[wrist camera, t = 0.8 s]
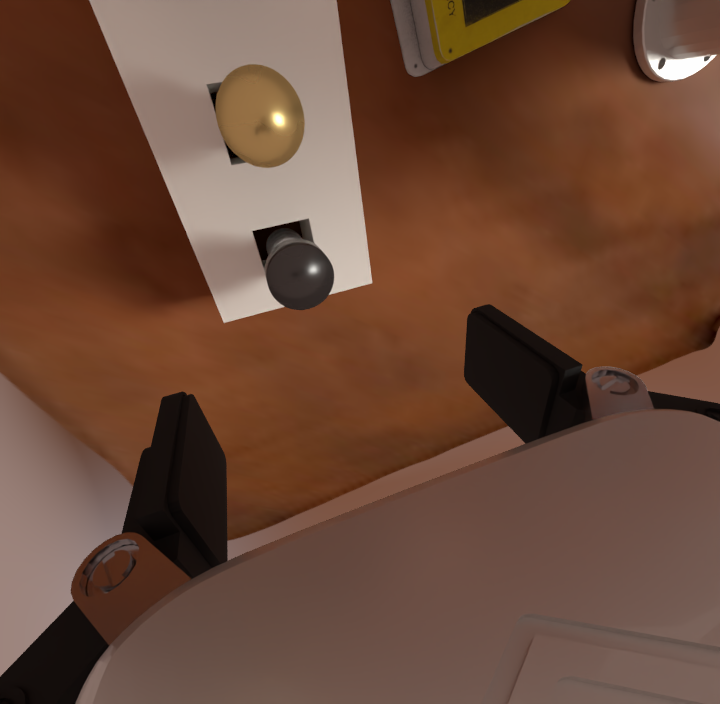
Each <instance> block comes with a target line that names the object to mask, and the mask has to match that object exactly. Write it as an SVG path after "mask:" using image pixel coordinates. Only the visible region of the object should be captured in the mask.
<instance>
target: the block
mask: <svg viewBox="0 0 720 704" xmlns="http://www.w3.org/2000/svg"><path fill="white" fill-rule="evenodd" d="M89 1H90V3H91V6H92V8H93V11H94V13H95V15H96V18H97V20H98V23H99V25H100V27H101V30H102V32H103V35H104V37H105V39H106V42H107V44H108V47H109V49H110V51H111V54H112V56H113V59H114V61H115V63H116V66H117V68H118V70H119V73H120V75H121V78H122V80H123V82H124V85H125V87H126V90H127V92H128V94H129V97H130V99H131V102H132V104H133V106H134V109H135V111H136V114H137V116H138V118H139V121H140V123H141V126H142V128H143V130H144V133H145V135H146V137H147V140H148V142H149V145H150V147H151V149H152V152H153V154H154V157H155V159H156V161H157V164H158V166H159V169H160V171H161V173H162V176H163V178H164V181H165V183H166V185H167V188H168V190H169V193H170V195H171V197H172V200H173V202H174V204H175V207H176V209H177V212H178V214H179V216H180V219H181V221H182V224H183V226H184V228H185V231H186V233H187V236H188V238H189V240H190V243H191V245H192V248H193V250H194V252H195V255H196V257H197V260H198V262H199V264H200V267H201V269H202V271H203V274H204V276H205V279H206V281H207V283H208V286H209V288H210V291H211V293H212V295H213V298H214V300H215V303H216V305H217V307H218V310H219V312H220V315H221V317H222V319H223V322H224V323H225V322H229V321H233V320H237V319H240V318H244V317H248V316H252V315H255V314H259V313H263V312H266V311H270V310H274V309H278V308H281V307H285V306H283V305H282V304H280V303H279V302H278V301H277V300H276V299H275V298H274V297H273V296H272V294H271V292H270V290H269V287H268V284H267V280H266V276H265V263H266V260H263V261H262V260H261V257H260V253H259V250H258V247H257V244H256V241H255V237H254V234H253V231H255V230H259V229H264V228H268V227H272V226H277V225H281V224H286V223H290V222H295V221H299V223H300V227H301V232H302V236H303V239H305V240H308V241H311V242H312V243H314V244H316V245H317V246H318V247H319V248H320V249H321V250H322V251H323V252H324V254H325V255H326V256H327V257H328V259H329V260H330V262H331V264H332V266H333V270H334V284H333V287H332V290H331V292H330V293H329V295H330V294H333V293H337V292H341V291H345V290H348V289H352V288H356V287H360V286H363V285H367V284H371V283H372V277H371V269H370V261H369V253H368V245H367V237H366V229H365V221H364V213H363V206H362V198H361V190H360V182H359V174H358V166H357V158H356V150H355V142H354V134H353V126H352V118H351V110H350V102H349V95H348V87H347V79H346V71H345V63H344V55H343V47H342V39H341V31H340V23H339V15H338V7H337V0H89ZM248 64H257V65H263V66H267V67H269V68H271V69H273V70H275V71H277V72H278V73H280V74H281V75H282V76H283V77H284V78H285V79H286V80H287V81H288V82H289V83H290V84H291V85H292V87H293V88H294V90H295V91H296V93H297V95H298V97H299V99H300V102H301V105H302V108H303V112H304V119H305V128H304V135H303V139H302V142H301V145H300V147H299V149H298V150H297V152H296V153H295V155H294V156H293V157H292V158H291V159H290V160H289V161H287V162H286V163H284V164H282V165H280V166H276V167H271V168H262V167H257V166H254V165H251V164H249V163H247V162H245V161H243V160H242V159H241V158H239V157H237V158H231V159H230V156H229V153H228V150H227V147H226V144H225V140H224V139H223V137H222V135H221V133H220V130H219V127H218V123H217V119H216V111H215V108H214V105H213V102H212V98H211V95H210V93H214V92H218V90H219V88H220V85H221V84H222V82H223V80H224V79H225V78H226V76H227V75H228V74H229V73H230V72H232V71H233V70H235V69H236V68H238V67H241V66H244V65H248Z"/></svg>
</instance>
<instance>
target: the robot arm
mask: <svg viewBox="0 0 720 704" xmlns="http://www.w3.org/2000/svg"><path fill="white" fill-rule="evenodd" d="M633 40H634V48H635V54H636V58H637V61H638V64H639V66H640V67H641V69H642V71H643V72H644V74H645V75H647V76H648V77H649V78H650V79H652V80H655V81H658V82H671V81H677V80H682V79H685V78H687V77H689V76H691V75H693V74H695V73H696V72H697V71H699V70H700V69H702V68H703V67H704V66H706V65H707V64H708V63H709V62H710V61H711V60H712V59H713V58H714V57H715V56H716V55H719V54H720V0H637V3H636V9H635V16H634V29H633ZM581 368H582V364H581V363H579V362H577V361H576V360H574V359H573V358H571V357H570V356H568V355H567V354H565V353H564V352H562V351H561V350H559V349H558V348H556V347H555V346H553V345H551V344H550V343H548V342H547V341H545V340H544V339H542V338H541V337H539V336H538V335H536V334H535V333H533V332H532V331H530V330H529V329H527V328H525V327H524V326H522V325H521V324H519V323H518V322H516V321H515V320H513V319H512V318H510V317H509V316H507V315H506V314H504V313H503V312H501V311H499V310H498V309H496V308H495V307H493V306H492V305H490V304H488V305H484V306H480V307H477V308H474V309H472V311H471V314H469V315H468V318H467V333H466V350H465V366H464V377H465V380H466V382H467V383H468V384H469V385H470V386H471V387H472V388H473V390H474V391H475V392H476V393H477V394H478V395H479V396H480V397H481V398H482V399H483V400H484V401H485V402H486V403H487V404H488V405H489V406H490V407H491V408H492V409H493V410H494V411H495V412H496V413H497V414H498V415H499V416H500V418H501V419H502V420H503V421H504V422H505V423H506V424H507V425H508V426H509V427H510V428H511V429H512V430H513V431H514V432H515V433H516V434H517V435H518V436H519V437H520V438H521V439H522V440H523V441H524V442H525V443H526V444H524V445H521V446H519V447H517V448H514V449H511V450H508V451H505V452H503V453H500V454H498V455H495V456H492V457H490V458H487V459H484V460H482V461H479V462H477V463H474V464H471V465H469V466H466V467H463V468H461V469H458V470H456V471H453V472H450V473H448V474H445V475H442V476H440V477H437V478H435V479H432V480H429V481H427V482H424V483H422V484H419V485H416V486H414V487H411V488H409V489H406V490H403V491H401V492H398V493H396V494H393V495H390V496H388V497H385V498H383V499H380V500H378V501H375V502H373V503H370V504H367V505H365V506H363V507H360V508H357V509H355V510H352V511H349V512H347V513H344V514H342V515H339V516H337V517H334V518H331V519H329V520H326V521H324V522H321V523H318V524H316V525H314V526H311V527H309V528H306V529H303V530H301V531H298V532H296V533H293V534H291V535H288V536H286V537H284V538H281V539H279V540H277V541H274V542H271V543H269V544H266V545H264V546H262V547H259V548H257V549H254V550H252V551H249V552H247V553H244V554H242V555H240V556H238V557H235V558H233V559H231V560H229V561H227V478H226V458H225V455H224V452H223V450H222V448H221V446H220V444H219V442H218V441H217V439H216V437H215V435H214V433H213V431H212V429H211V427H210V425H209V423H208V421H207V420H206V418H205V416H204V414H203V412H202V410H201V408H200V406H199V404H198V402H197V400H196V399H195V397H194V395H193V394H190V395H187V394H186V393H185V392H179V393H176V394H172V395H169V396H165V397H163V398H162V400H161V404H160V409H159V413H158V418H157V422H156V427H155V431H154V435H153V440H152V444H151V447H149V448H146V449H145V450H144V451H143V452H142V455H141V458H140V462H139V466H138V470H137V474H136V478H135V482H134V486H133V490H132V494H131V498H130V502H129V506H128V510H127V514H126V518H125V522H124V526H123V530H122V534H119V535H116V536H114V537H112V538H110V539H108V540H106V541H104V542H103V543H102V544H101V545H99V546H98V547H96V548H95V549H94V550H93V551H92V552H91V553H90V554H89V555H88V556H87V557H86V558H85V559H84V561H83V562H82V564H81V565H80V566H79V568H78V569H77V571H76V573H75V576H74V578H73V581H72V585H71V595H72V597H73V600H74V601H73V602H72V603H71V604H70V605H69V606H68V607H67V608H66V609H65V610H64V612H62V614H61V615H59V617H58V618H57V619H56V620H55V621H54V622H53V623H52V624H51V625H50V626H49V627H48V628H47V629H46V630H45V631H44V632H43V633H42V634H41V635H40V636H39V637H38V638H37V639H36V640H35V641H34V642H33V643H32V644H31V645H30V647H29V648H28V649H27V650H26V651H25V652H24V653H23V654H22V655H21V656H20V657H19V658H18V659H17V660H16V661H15V662H14V663H13V664H12V665H11V666H10V667H9V668H8V669H7V670H6V671H5V672H4V673H3V674H2V675H1V677H0V704H720V404H718V403H714V402H708V401H701V400H696V399H690V398H685V397H678V396H673V395H667V394H661V393H655V392H650V391H647V388H646V386H645V384H644V383H643V382H642V380H641V379H640V378H638V377H637V376H636V375H634V374H632V373H630V372H628V371H625V370H622V369H619V368H614V367H596V368H593V369H591V370H589V371H588V372H587V373H586V374H585V373H584V372H582V371H581Z"/></svg>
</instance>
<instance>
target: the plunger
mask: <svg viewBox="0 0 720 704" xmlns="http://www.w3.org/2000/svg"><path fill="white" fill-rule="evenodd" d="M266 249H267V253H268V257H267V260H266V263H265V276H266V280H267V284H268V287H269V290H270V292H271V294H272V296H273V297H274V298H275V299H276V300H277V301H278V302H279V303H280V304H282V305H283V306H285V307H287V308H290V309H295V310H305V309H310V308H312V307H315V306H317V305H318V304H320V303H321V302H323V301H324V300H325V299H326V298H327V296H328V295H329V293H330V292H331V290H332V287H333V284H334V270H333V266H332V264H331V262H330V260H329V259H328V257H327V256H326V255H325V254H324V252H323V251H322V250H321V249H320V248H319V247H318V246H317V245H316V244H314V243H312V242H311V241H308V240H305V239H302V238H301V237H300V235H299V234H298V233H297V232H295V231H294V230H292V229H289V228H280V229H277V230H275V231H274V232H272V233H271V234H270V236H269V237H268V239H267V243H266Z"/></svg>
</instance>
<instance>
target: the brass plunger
mask: <svg viewBox="0 0 720 704" xmlns="http://www.w3.org/2000/svg"><path fill="white" fill-rule="evenodd" d="M215 107H216V119H217V123H218V127H219V130H220V133H221V135H222V137H223V139H224V140H225V142H226V144H227V145H228V146H229V148H230V149H231V150H232V151H233V152H234V153H235V154H236V155H237V156H238V157H239V158H241V159H242V160H243V161H245V162H247V163H249V164H251V165H254V166H257V167H262V168H271V167H276V166H280V165H282V164H284V163H286V162H287V161H289V160H290V159H291V158H292V157H293V156H294V155H295V153H296V152H297V150H298V149H299V147H300V145H301V142H302V139H303V135H304V128H305V119H304V112H303V108H302V105H301V102H300V99H299V97H298V95H297V93H296V91H295V90H294V88H293V87H292V85H291V84H290V83H289V82H288V81H287V80H286V79H285V78H284V77H283V76H282V75H281V74H280V73H278V72H277V71H275V70H273V69H271V68H269V67H267V66H263V65H257V64H248V65H244V66H241V67H238V68H236V69H235V70H233V71H232V72H230V73H229V74H228V75H227V76H226V78H225V79H224V80H223V82H222V84H221V85H220V88H219V90H218V93H217V98H216V106H215Z"/></svg>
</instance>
